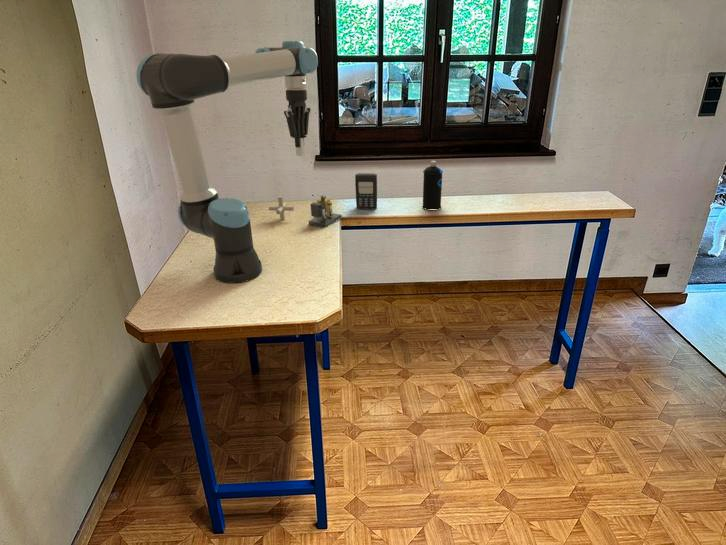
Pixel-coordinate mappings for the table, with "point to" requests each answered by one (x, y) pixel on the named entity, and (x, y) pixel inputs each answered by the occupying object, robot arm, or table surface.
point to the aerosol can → (432, 187)
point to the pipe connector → (281, 208)
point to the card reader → (366, 190)
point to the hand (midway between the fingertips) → (300, 155)
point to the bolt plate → (337, 216)
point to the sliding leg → (326, 205)
